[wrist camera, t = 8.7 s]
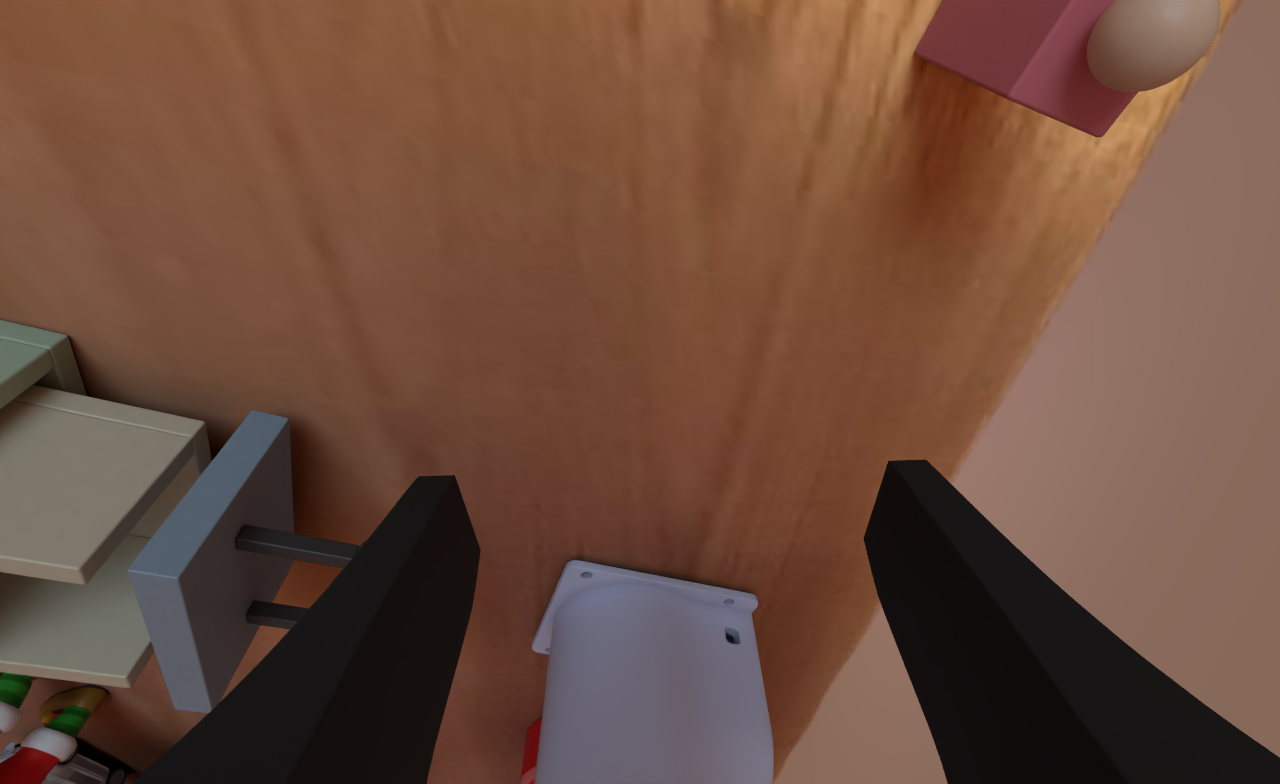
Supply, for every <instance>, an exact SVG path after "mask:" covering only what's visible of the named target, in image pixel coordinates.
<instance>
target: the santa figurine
mask: <svg viewBox="0 0 1280 784" xmlns="http://www.w3.org/2000/svg"><path fill="white" fill-rule="evenodd" d="M36 678H38V677H36V676H28V675H20V674H12V673H5V672H0V733H6V732H8V731H10V730H11V729H12V728H14V727H15V726H16V724H17V723H18V722H19V721H20V720H21V719H22V716H23V713H22V711H20V710H19V708H20V706H21V704H22V703H23V701H24V699H25V697H26V696H27V694H28V692H29V690H30V687H31V685H32V681H33V680H35V679H36ZM108 694H109V692H108V691H107V690H105V689H103V688H101V687H97V686H82V687H79V688H75V689H71V690H67V691H63V692H59V693H57V694H55V695H54V696H52V697H51V698H49V699H48V700H47V701H45V702H44V703H43V704H42V705H41V706H40V709H39V717H40V719H41V721H42V722H43V724H44V725H46V726H45V727H39V728H36V729H34V730H33V731H32V732H31V733H30V734H29V735H28V736H27V737H25V738H24V739H23V740H22V742H21V747H22V748H21V749H20V750H19V751H18V752H17V753H15V754H14V755H13V756H11V757H9V758H8V759H6V760H4V761H2V762H1V763H0V784H41V783H42V782H43V781H44V779H45V778H46V776H47V775H48V773H49V772H50V771H51V770H52V769H53V768H54V767H55V766H56V765H57V764H58V763H59V762H62V761H64V760H66V759H67V758H68V757H69V756H70V755H71V754H72V752H73V751H74V750H75V749H76V747H77V743H76V740H75V739H76V737H77V735H78V733H79V731H80V730H81V728H82V727H83V725H84V724H85V722H86V720H87V719H88V717H89V715H90V714H91V713H93V712H94V711H96V710H97V709H98V708H99V706H100V705H101V704H102V703H103V701H104V700H105V699H106V697H107V696H108Z"/></svg>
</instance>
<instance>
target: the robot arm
mask: <svg viewBox="0 0 1280 784" xmlns="http://www.w3.org/2000/svg"><path fill="white" fill-rule="evenodd" d="M864 542H865V546H866V550H867V555H868V559H869V563H870V567H871V571H872V575H873V579H874V582H875V586H876V590H877V593H878V597H879V600H880V602H881V605H882V608H883V610H884V613H885V616H886V618H887V621H888V623H889V626H890V628H891V631H892V634H893V636H894V639H895V642H896V644H897V647H898V649H899V652H900V654H901V657H902V660H903V662H904V665H905V667H906V670H907V672H908V675H909V677H910V680H911V682H912V685H913V687H914V690H915V693H916V695H917V698H918V700H919V703H920V705H921V708H922V710H923V713H924V716H925V718H926V721H927V723H928V726H929V728H930V730H931V734H932V736H933V739H934V742H935V745H936V748H937V751H938V754H939V757H940V760H941V762H942V765H943V769H944V772H945V776H946V779H947V782H948V784H1280V758H1279V757H1278V756H1277V755H1275V754H1274V753H1272V752H1271V751H1269V750H1268V749H1266V748H1265V747H1264V746H1262V745H1261V744H1259V743H1258V742H1256V741H1255V740H1253V739H1252V738H1251V737H1249V736H1248V735H1246V734H1245V733H1243V732H1242V731H1241V730H1239V729H1238V728H1236V727H1235V726H1234V725H1232V724H1231V723H1230V722H1228V721H1227V720H1225V719H1224V718H1222V717H1221V716H1220V715H1218V714H1217V713H1216V712H1214V711H1213V710H1211V709H1210V708H1209V707H1207V706H1206V705H1204V704H1203V703H1202V702H1201V701H1199V700H1198V699H1197V698H1195V697H1194V696H1193V695H1192V694H1190V693H1189V692H1188V691H1186V690H1185V689H1184V688H1182V687H1181V686H1180V685H1179V684H1177V683H1176V682H1175V681H1173V680H1172V679H1171V678H1169V677H1168V676H1167V675H1165V674H1164V673H1163V672H1162V671H1160V670H1159V669H1158V668H1156V667H1155V666H1154V665H1152V664H1151V663H1150V662H1148V661H1147V660H1146V659H1145V658H1143V657H1142V656H1141V655H1140V654H1138V653H1137V652H1136V651H1135V650H1133V649H1132V648H1131V647H1130V646H1128V645H1127V644H1126V643H1125V642H1123V641H1122V640H1121V639H1120V638H1119V637H1117V636H1116V635H1115V634H1114V633H1113V632H1111V631H1110V630H1109V629H1108V628H1107V627H1105V626H1104V625H1103V624H1102V623H1101V622H1100V621H1098V620H1097V619H1096V618H1095V617H1094V616H1092V615H1091V614H1090V613H1089V612H1088V611H1087V610H1086V609H1084V608H1083V607H1082V606H1081V605H1080V604H1078V603H1077V602H1076V601H1075V600H1074V599H1073V598H1071V597H1070V596H1069V595H1068V594H1067V593H1066V592H1065V591H1064V590H1062V589H1061V588H1060V587H1059V586H1058V585H1057V584H1055V582H1053V581H1052V580H1051V579H1050V578H1049V577H1048V576H1047V575H1046V574H1045V573H1043V572H1042V571H1041V570H1040V569H1039V568H1038V567H1037V566H1036V565H1035V564H1034V563H1033V562H1031V561H1030V560H1029V559H1028V558H1027V557H1026V556H1025V555H1024V554H1023V553H1022V552H1021V551H1020V550H1019V549H1017V548H1016V547H1015V546H1014V545H1013V544H1012V543H1011V542H1010V541H1009V540H1008V539H1007V538H1006V537H1005V536H1004V535H1003V534H1002V533H1000V532H999V530H997V529H996V528H995V527H994V526H993V525H992V524H991V523H990V522H989V521H988V520H987V519H986V518H985V517H984V516H983V515H982V514H981V513H980V512H979V511H978V510H977V509H976V508H975V507H974V506H973V505H972V504H970V502H969V501H967V499H966V498H965V497H964V496H963V495H962V494H961V493H960V492H958V491H957V490H956V488H954V486H952V485H951V484H950V483H949V482H948V481H947V480H946V479H945V478H944V477H943V476H942V475H941V474H940V473H939V472H938V471H937V470H936V469H935V468H934V467H933V466H932V465H931V464H930V463H929V462H928V461H927V460H901V461H888V464H887V467H886V470H885V474H884V477H883V480H882V483H881V486H880V489H879V492H878V495H877V498H876V502H875V505H874V508H873V511H872V514H871V517H870V520H869V523H868V526H867V530H866V533H865V536H864ZM479 558H480V547H479V544H478V542H477V539H476V536H475V533H474V530H473V527H472V524H471V521H470V518H469V515H468V512H467V510H466V507H465V504H464V501H463V498H462V495H461V492H460V489H459V486H458V483H457V481H456V478H455V475H450V476H420V477H418V478H417V479H416V480H415V481H414V482H413V483H412V484H411V486H410V487H409V488H408V489H407V491H406V492H405V493H404V494H403V496H402V497H401V498H400V500H399V501H398V502H397V503H396V505H395V506H394V507H393V508H392V510H391V511H390V512H389V513H388V515H387V516H386V517H385V519H384V520H383V521H382V522H381V524H380V525H379V526H378V527H377V529H376V530H375V531H374V532H373V534H372V535H371V536H370V537H369V539H368V540H367V541H366V542H365V543H364V545H363V546H362V547H361V548H360V550H359V551H358V552H357V553H356V554H355V556H354V557H353V558H352V559H351V560H350V562H349V563H348V564H347V565H346V566H345V568H344V569H343V570H342V571H341V572H340V574H339V575H338V576H337V577H336V578H335V580H334V581H333V582H332V583H331V584H330V585H329V587H328V588H327V589H326V590H325V591H324V593H323V594H322V595H321V596H320V597H319V598H318V599H317V601H316V602H315V603H314V604H313V605H312V606H311V607H310V608H309V609H308V611H307V612H306V613H305V614H304V615H303V616H302V617H301V618H300V619H299V620H298V622H297V623H296V624H295V625H294V626H293V627H292V628H291V629H290V630H289V631H288V633H287V634H286V635H285V636H284V637H283V638H282V639H281V640H280V641H279V642H278V644H277V645H276V646H275V647H274V648H273V649H272V650H271V651H270V652H269V653H268V654H267V655H266V656H265V657H264V658H263V659H262V661H261V662H260V663H259V664H258V665H257V666H256V667H255V668H254V669H253V670H252V671H251V672H250V673H249V674H248V675H247V676H246V677H245V678H244V679H243V680H242V681H241V682H240V683H239V684H238V685H237V686H236V687H235V688H234V689H233V690H232V691H231V692H230V693H229V694H228V695H227V696H226V697H225V698H224V699H223V700H222V701H221V702H220V703H219V704H218V705H217V706H216V707H215V708H214V709H212V710H211V711H210V712H209V713H208V714H207V715H206V716H205V717H204V718H203V719H202V720H201V721H200V722H199V723H198V724H197V725H196V726H195V727H194V728H192V729H191V730H190V731H189V732H188V733H187V734H186V735H185V736H184V737H183V738H181V739H180V740H179V741H178V742H177V743H176V744H175V745H174V746H173V747H172V748H171V749H169V750H168V751H167V752H166V753H165V754H164V755H163V756H162V757H161V758H160V759H159V760H157V761H156V762H155V763H154V764H153V765H152V766H151V767H150V768H149V769H147V770H146V771H145V772H144V773H143V774H142V775H141V776H140V777H138V778H137V779H136V780H135V781H134V782H133V783H132V784H427V779H428V774H429V769H430V765H431V761H432V757H433V752H434V748H435V744H436V740H437V736H438V733H439V729H440V725H441V722H442V718H443V714H444V711H445V707H446V703H447V700H448V696H449V692H450V689H451V685H452V681H453V678H454V674H455V670H456V667H457V663H458V659H459V656H460V652H461V648H462V645H463V641H464V637H465V633H466V630H467V626H468V622H469V618H470V614H471V610H472V605H473V599H474V593H475V586H476V580H477V572H478V565H479ZM757 606H758V601H757V597H756V596H755V595H754V594H751V593H746V592H741V591H736V590H731V589H725V588H720V587H715V586H710V585H705V584H700V583H694V582H689V581H684V580H679V579H674V578H668V577H663V576H658V575H653V574H648V573H642V572H637V571H632V570H627V569H622V568H616V567H611V566H606V565H601V564H596V563H591V562H585V561H580V560H572V561H570V562H568V563H567V564H566V565H565V567H564V570H563V572H562V574H561V577H560V579H559V581H558V584H557V586H556V588H555V590H554V593H553V595H552V597H551V600H550V602H549V604H548V606H547V609H546V611H545V613H544V616H543V618H542V620H541V623H540V625H539V627H538V629H537V632H536V634H535V636H534V639H533V641H532V649H533V650H534V651H535V652H538V653H543V654H549V662H548V670H547V679H546V688H545V696H544V705H543V714H542V722H541V731H540V740H539V748H538V757H537V766H536V774H535V783H534V784H772V783H773V769H774V752H773V739H772V731H771V725H770V719H769V713H768V707H767V701H766V696H765V690H764V684H763V678H762V672H761V666H760V660H759V654H758V649H757V643H756V637H755V631H754V625H753V619H752V614H751V613H752V612H753V611H754V610H755V609H756V607H757Z"/></svg>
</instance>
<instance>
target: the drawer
mask: <svg viewBox="0 0 1280 784" xmlns="http://www.w3.org/2000/svg"><path fill="white" fill-rule="evenodd" d="M366 541H367V540H366ZM366 541H365V542H366ZM365 542H364V543H365ZM364 543H362V544H361V546H360V547H359V546H358V545H354V544H349V543H343V542H338V541H332V540H327V539H321V538H316V537H310V536H305V535H300V534H294V516H293V493H292V471H291V448H290V425H289V418H287V417H282V416H278V415H273V414H268V413H264V412H259V411H255V410H252V411H251V412H250V413H249V414H248V416H247V417H246V418H245V420H244V421H243V422H242V423H241V425H240V426H239V427H238V428H237V430H236V431H235V432H234V434H233V435H232V436H231V437H230V439H229V440H228V441H227V443H226V444H225V445H224V446H223V448H222V449H221V450H220V451H219V453H218V454H217V455H216V457H215V458H214V459H213V460H212V459H211V453H210V447H209V440H208V434H207V428H206V423H205V422H204V421H200V420H196V419H191V418H186V417H182V416H177V415H172V414H168V413H163V412H158V411H154V410H149V409H144V408H140V407H135V406H130V405H126V404H121V403H116V402H112V401H107V400H102V399H98V398H93V397H88V396H84V395H79V394H74V393H70V392H65V391H60V390H56V389H51V388H46V387H42V386H37V385H31V386H30V387H29V388H27V389H26V390H25V391H24V392H22V393H21V394H20V395H18V396H17V397H16V398H14V399H13V400H12V401H11V402H9V403H8V404H7V405H5V406H4V407H3V408H1V409H0V672H5V673H12V674H20V675H28V676H36V677H44V678H52V679H60V680H68V681H76V682H84V683H92V684H100V685H108V686H116V687H124V688H130V687H131V686H132V685H133V683H134V682H135V680H136V679H137V677H138V676H139V674H140V673H141V671H142V670H143V668H144V667H145V665H146V664H147V662H148V661H149V659H150V658H151V656H152V655H153V653H154V652H155V654H156V657H157V659H158V662H159V665H160V668H161V671H162V674H163V677H164V680H165V682H166V685H167V688H168V691H169V694H170V697H171V700H172V703H173V705H174V708H175V709H176V710H184V711H192V712H201V713H209V712H210V711H211V710H212V709H214V708H215V707H216V706H217V705H218V704H219V702H220V700H221V698H222V696H223V694H224V692H225V690H226V688H227V687H228V685H229V683H230V681H231V679H232V677H233V675H234V673H235V672H236V670H237V668H238V666H239V664H240V662H241V660H242V658H243V656H244V655H245V653H246V651H247V649H248V647H249V645H250V643H251V641H252V640H253V638H254V636H255V634H256V632H257V630H258V628H259V626H260V625H264V626H271V627H278V628H284V629H291V628H292V627H293V626H294V625H295V624H296V623H297V622H298V620H299V619H300V618H301V617H302V616H303V615H304V614H305V613H306V612H307V611H308V609H307V608H301V607H295V606H288V605H282V604H276V603H272V602H273V600H274V598H275V596H276V594H277V592H278V591H279V589H280V587H281V585H282V583H283V581H284V579H285V577H286V576H287V574H288V572H289V570H290V568H291V566H292V564H293V562H294V560H300V561H306V562H311V563H317V564H323V565H328V566H334V567H340V568H345V566H346V565H347V564H348V563H349V562H350V560H351V559H352V558H353V557H354V556H355V554H356V553H357V552H358V551H359V550H360V548H361V547H362V546H363V545H364Z"/></svg>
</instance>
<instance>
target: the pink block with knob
mask: <svg viewBox="0 0 1280 784" xmlns="http://www.w3.org/2000/svg"><path fill="white" fill-rule="evenodd" d="M1219 22H1220V4H1219V1H1218V0H943V1H942V3H941V5H940V7H939V9H938V10H937V12H936V14H935V16H934V18H933V19H932V21H931V23H930V25H929V27H928V29H927V30H926V32H925V34H924V36H923V38H922V39H921V41H920V43H919V45H918V47H917V48H916V50H915V55H916V56H918V57H920V58H922V59H924V60H926V61H928V62H930V63H932V64H935V65H937V66H939V67H941V68H943V69H945V70H947V71H949V72H951V73H954V74H956V75H958V76H960V77H962V78H964V79H966V80H968V81H970V82H972V83H975V84H977V85H979V86H981V87H983V88H985V89H987V90H989V91H991V92H994V93H996V94H998V95H1000V96H1002V97H1004V98H1006V99H1008V100H1011V101H1013V102H1015V103H1018V104H1020V105H1022V106H1025V107H1027V108H1029V109H1032V110H1034V111H1036V112H1039V113H1041V114H1043V115H1046V116H1048V117H1050V118H1053V119H1055V120H1057V121H1060V122H1062V123H1064V124H1067V125H1069V126H1071V127H1074V128H1076V129H1078V130H1081V131H1083V132H1085V133H1088V134H1090V135H1092V136H1095V137H1102V136H1103V135H1104V134H1105V133H1106V132H1107V131H1108V129H1109V128H1110V127H1111V125H1112V124H1113V123H1114V122H1115V120H1116V119H1117V118H1118V117H1119V115H1120V114H1121V113H1122V112H1123V110H1124V109H1125V108H1126V106H1127V105H1128V104H1129V103H1130V101H1131V100H1132V99H1133V98H1134V96H1135V95H1136V94H1137V93H1138V92H1140V91H1146V90H1151V89H1154V88H1157V87H1160V86H1162V85H1165V84H1167V83H1169V82H1171V81H1173V80H1174V79H1176V78H1178V77H1179V76H1181V75H1182V74H1184V73H1185V72H1187V71H1188V70H1189V69H1190V68H1191V67H1193V66H1194V65H1195V64H1196V63H1197V62H1198V61H1199V60H1200V58H1201V57H1202V56H1203V55H1204V54H1205V52H1206V51H1207V50H1208V48H1209V47H1210V45H1211V43H1212V41H1213V40H1214V38H1215V35H1216V33H1217V30H1218V27H1219Z"/></svg>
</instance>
